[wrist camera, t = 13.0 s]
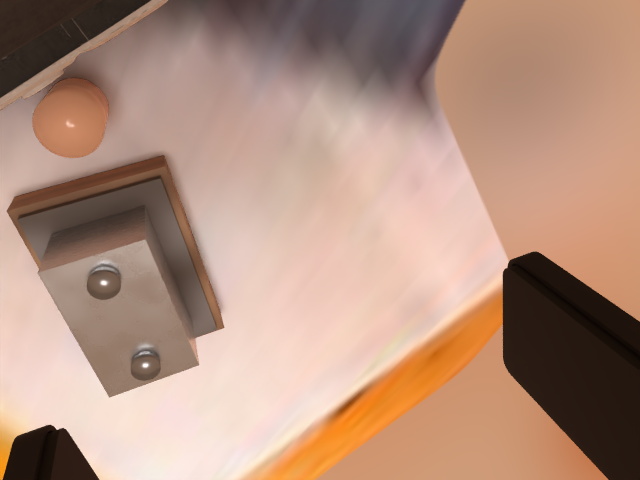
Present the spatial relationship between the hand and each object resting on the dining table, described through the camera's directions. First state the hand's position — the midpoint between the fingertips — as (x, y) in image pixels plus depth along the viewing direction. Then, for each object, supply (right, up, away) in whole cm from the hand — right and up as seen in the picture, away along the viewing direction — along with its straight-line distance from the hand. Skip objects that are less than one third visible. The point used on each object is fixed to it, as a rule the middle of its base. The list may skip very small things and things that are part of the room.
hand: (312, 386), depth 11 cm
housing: (-13, 0, +25) cm, 28 cm away
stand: (-14, +1, +28) cm, 31 cm away
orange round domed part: (-15, +12, +22) cm, 29 cm away
